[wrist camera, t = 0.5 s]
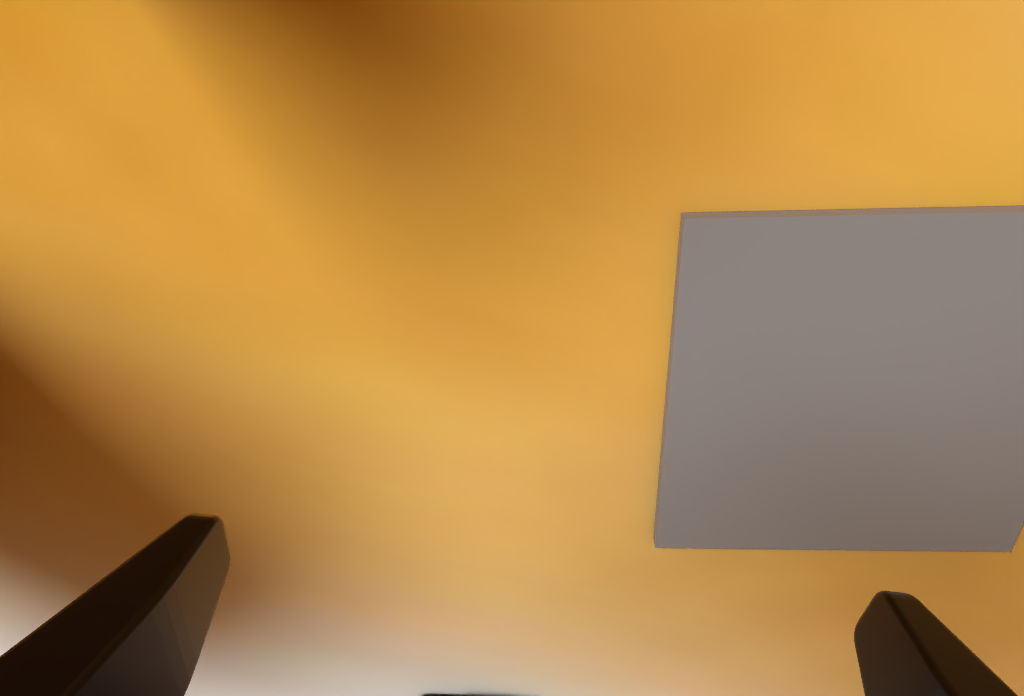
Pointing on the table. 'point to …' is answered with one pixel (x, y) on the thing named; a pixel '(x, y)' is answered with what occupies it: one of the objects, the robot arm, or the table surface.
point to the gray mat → (846, 381)
